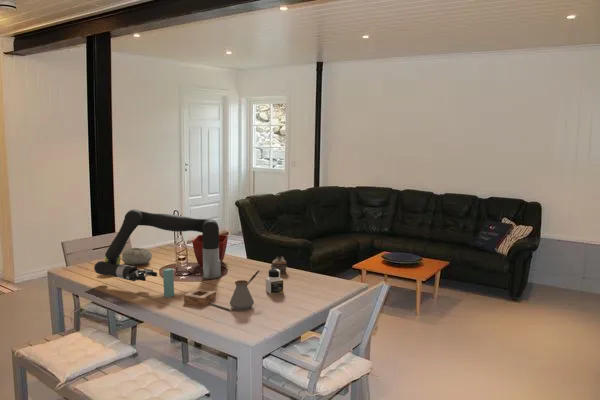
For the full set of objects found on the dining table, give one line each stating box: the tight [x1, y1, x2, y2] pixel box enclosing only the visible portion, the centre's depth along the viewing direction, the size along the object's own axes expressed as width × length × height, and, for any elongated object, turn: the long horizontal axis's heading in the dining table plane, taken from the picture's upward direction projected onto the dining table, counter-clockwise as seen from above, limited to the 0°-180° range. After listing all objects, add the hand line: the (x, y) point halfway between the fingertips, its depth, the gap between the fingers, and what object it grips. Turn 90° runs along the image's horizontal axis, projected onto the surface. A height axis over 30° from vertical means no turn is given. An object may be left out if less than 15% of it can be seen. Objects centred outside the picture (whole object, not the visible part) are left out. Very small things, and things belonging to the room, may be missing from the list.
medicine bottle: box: [265, 268, 284, 295], centre depth 258 cm, size 7×7×12 cm
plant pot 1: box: [104, 255, 122, 264], centre depth 292 cm, size 9×9×9 cm
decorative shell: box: [121, 247, 153, 266], centre depth 309 cm, size 18×18×10 cm
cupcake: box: [270, 256, 288, 276], centre depth 291 cm, size 10×10×10 cm
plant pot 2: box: [192, 234, 229, 268], centre depth 309 cm, size 19×19×17 cm
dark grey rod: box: [208, 302, 230, 312], centre depth 236 cm, size 14×1×1 cm, turn 51°
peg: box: [162, 267, 175, 298], centre depth 250 cm, size 4×4×14 cm
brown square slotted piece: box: [183, 288, 217, 307], centre depth 244 cm, size 11×11×4 cm
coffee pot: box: [229, 269, 262, 312], centre depth 238 cm, size 21×12×15 cm, turn 151°
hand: (150, 276), depth 255 cm, fingers open, 8 cm apart
